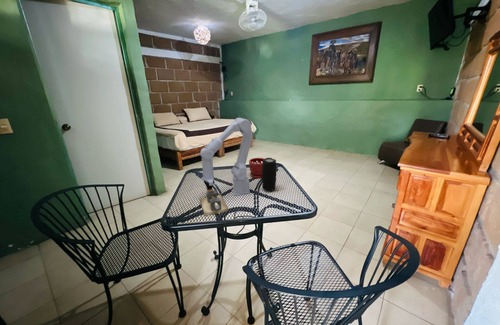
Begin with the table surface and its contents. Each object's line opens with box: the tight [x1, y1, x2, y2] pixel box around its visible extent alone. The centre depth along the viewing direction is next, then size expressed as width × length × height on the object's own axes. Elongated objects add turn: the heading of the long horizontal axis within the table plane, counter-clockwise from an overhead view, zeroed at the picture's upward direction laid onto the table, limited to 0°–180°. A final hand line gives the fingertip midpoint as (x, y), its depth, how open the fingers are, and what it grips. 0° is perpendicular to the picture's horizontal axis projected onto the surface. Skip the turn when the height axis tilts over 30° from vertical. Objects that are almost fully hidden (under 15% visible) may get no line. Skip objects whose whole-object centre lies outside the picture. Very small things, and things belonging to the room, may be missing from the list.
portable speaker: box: [261, 157, 277, 193], centre depth 123 cm, size 9×9×20 cm
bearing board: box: [199, 189, 229, 217], centre depth 107 cm, size 12×16×7 cm
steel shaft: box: [206, 188, 219, 209], centre depth 106 cm, size 4×18×4 cm, turn 22°
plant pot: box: [248, 157, 265, 179], centre depth 145 cm, size 13×13×12 cm
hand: (209, 192), depth 115 cm, fingers closed
